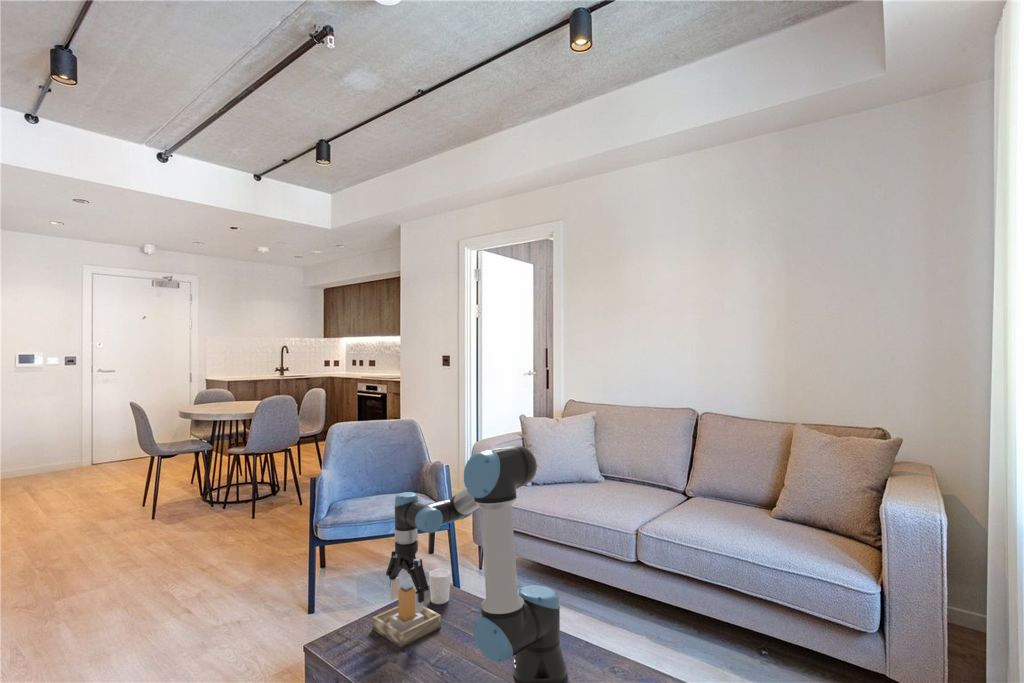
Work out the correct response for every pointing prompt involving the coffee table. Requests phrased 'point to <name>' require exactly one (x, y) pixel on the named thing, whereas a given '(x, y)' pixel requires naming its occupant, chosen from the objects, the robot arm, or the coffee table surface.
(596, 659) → the coffee table surface
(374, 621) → the box
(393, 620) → the socket
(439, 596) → the white cup
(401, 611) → the connector
